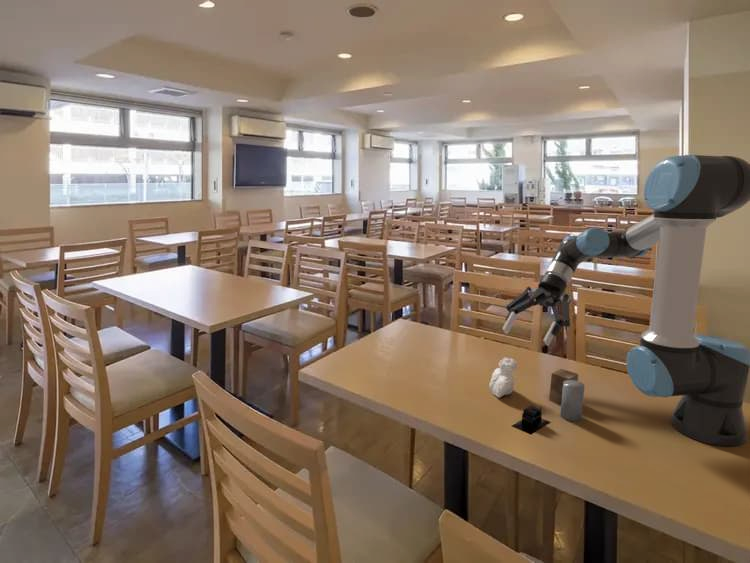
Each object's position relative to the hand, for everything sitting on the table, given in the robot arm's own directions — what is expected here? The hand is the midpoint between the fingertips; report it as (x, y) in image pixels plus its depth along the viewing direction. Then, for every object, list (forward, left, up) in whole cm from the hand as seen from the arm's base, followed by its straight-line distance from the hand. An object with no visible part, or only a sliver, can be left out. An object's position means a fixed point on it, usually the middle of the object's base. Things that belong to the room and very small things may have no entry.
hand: (524, 337), depth 142 cm
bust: (0, +10, -14) cm, 18 cm away
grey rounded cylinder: (-20, +9, -14) cm, 26 cm away
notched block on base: (-16, +20, -15) cm, 30 cm away
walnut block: (-14, +2, -14) cm, 20 cm away
